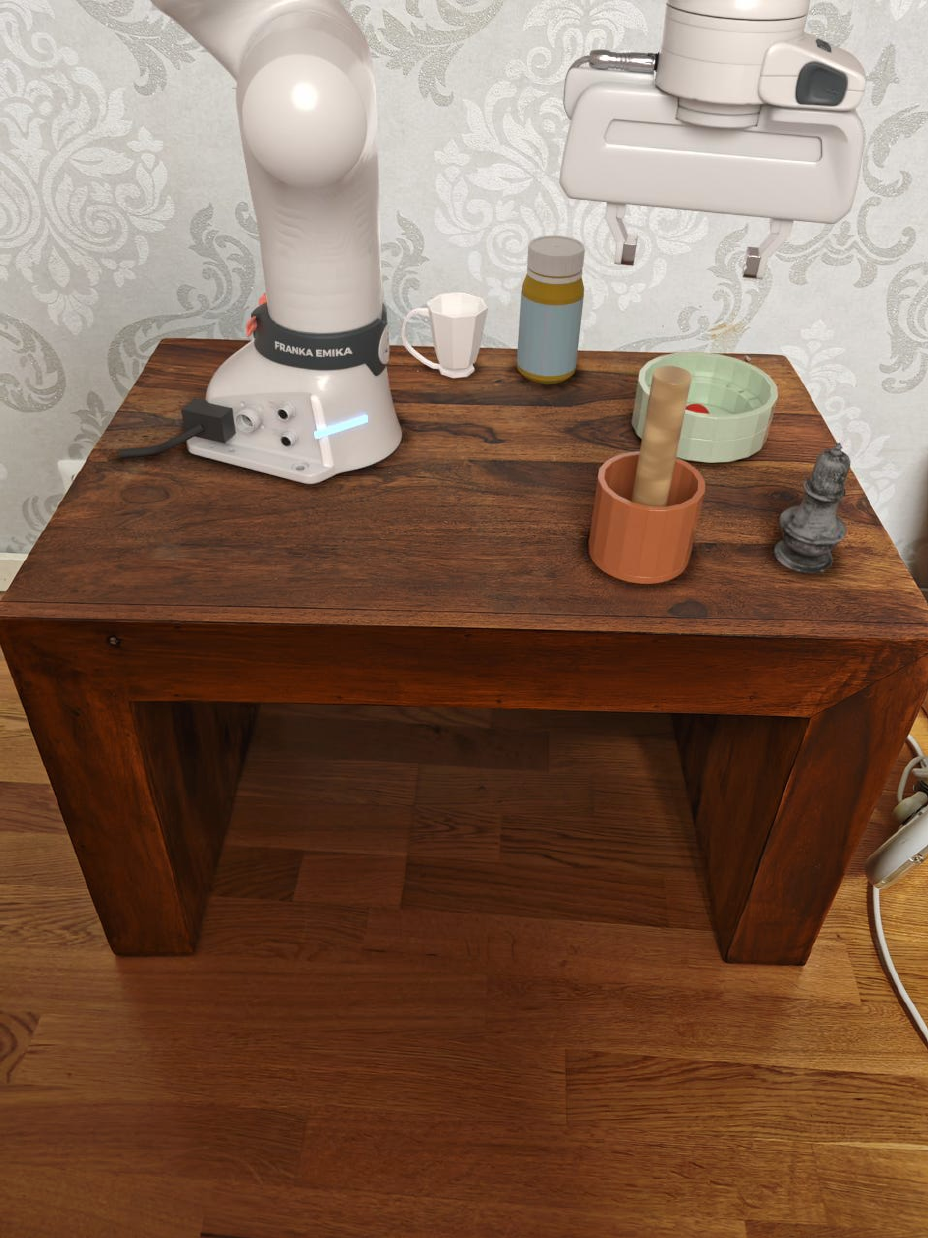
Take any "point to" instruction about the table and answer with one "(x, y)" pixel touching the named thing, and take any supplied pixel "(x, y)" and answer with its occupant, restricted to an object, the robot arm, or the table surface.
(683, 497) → the crock
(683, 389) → the stick
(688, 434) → the bowl
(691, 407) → the ball
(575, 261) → the bottle
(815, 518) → the grey chess piece
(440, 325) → the cup
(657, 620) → the table surface
